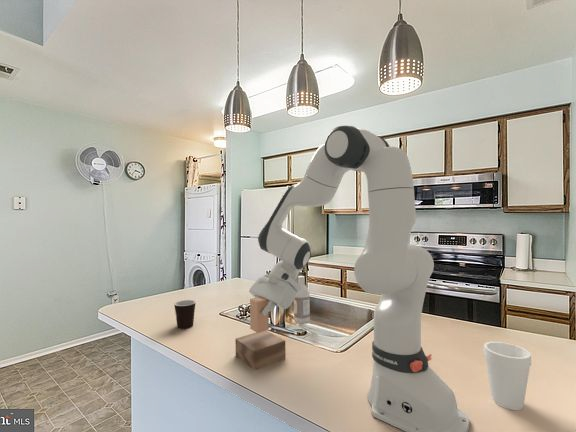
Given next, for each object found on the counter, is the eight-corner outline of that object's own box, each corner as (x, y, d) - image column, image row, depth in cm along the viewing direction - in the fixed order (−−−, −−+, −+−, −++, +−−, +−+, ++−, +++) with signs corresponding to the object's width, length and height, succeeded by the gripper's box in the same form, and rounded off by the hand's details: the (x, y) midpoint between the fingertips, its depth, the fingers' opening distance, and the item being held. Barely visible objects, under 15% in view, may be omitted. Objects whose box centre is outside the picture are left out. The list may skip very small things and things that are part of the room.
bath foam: (291, 319, 134) (291, 275, 134) (306, 318, 136) (305, 274, 136) (297, 325, 127) (296, 278, 127) (312, 323, 129) (311, 277, 129)
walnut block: (285, 358, 98) (285, 340, 98) (254, 370, 91) (254, 351, 91) (265, 346, 108) (265, 329, 108) (235, 356, 100) (235, 338, 100)
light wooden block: (268, 329, 99) (268, 299, 99) (257, 332, 96) (257, 301, 96) (261, 325, 102) (261, 296, 102) (250, 328, 100) (250, 298, 100)
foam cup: (507, 389, 79) (506, 340, 79) (541, 411, 70) (541, 356, 70) (475, 392, 78) (474, 343, 78) (506, 416, 69) (506, 360, 69)
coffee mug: (191, 330, 123) (191, 305, 123) (171, 330, 123) (170, 306, 123) (200, 320, 135) (200, 298, 135) (181, 320, 135) (181, 298, 135)
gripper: (259, 268, 112) (236, 299, 106) (294, 277, 95) (269, 314, 89) (269, 278, 114) (247, 309, 108) (304, 289, 98) (281, 325, 92)
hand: (257, 312), depth 99 cm, fingers closed on light wooden block, 4 cm apart
